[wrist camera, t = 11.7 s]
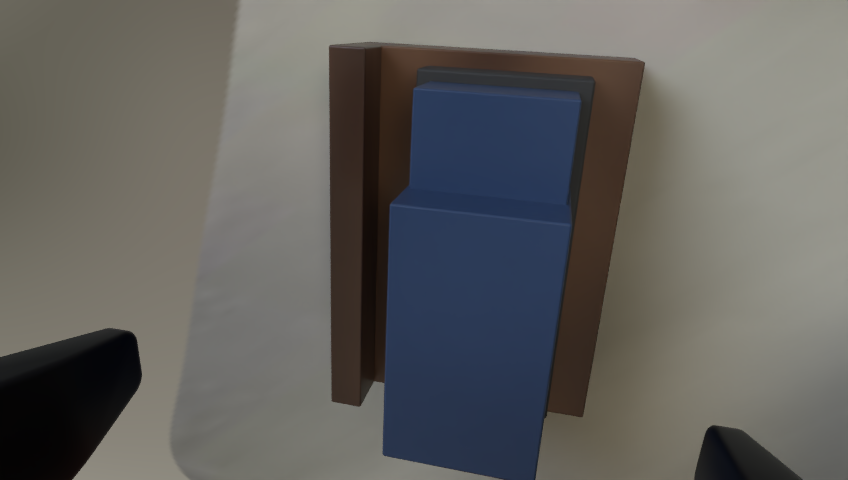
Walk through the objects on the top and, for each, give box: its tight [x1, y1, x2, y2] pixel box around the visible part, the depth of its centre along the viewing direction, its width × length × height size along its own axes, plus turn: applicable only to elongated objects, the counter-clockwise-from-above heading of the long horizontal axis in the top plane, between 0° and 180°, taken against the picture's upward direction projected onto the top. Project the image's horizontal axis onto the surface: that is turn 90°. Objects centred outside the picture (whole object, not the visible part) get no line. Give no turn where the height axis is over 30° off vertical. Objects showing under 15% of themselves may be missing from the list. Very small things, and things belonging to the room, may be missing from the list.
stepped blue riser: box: [383, 66, 596, 480], centre depth 15 cm, size 10×4×4 cm, turn 177°
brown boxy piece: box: [329, 42, 645, 417], centre depth 18 cm, size 8×11×4 cm
